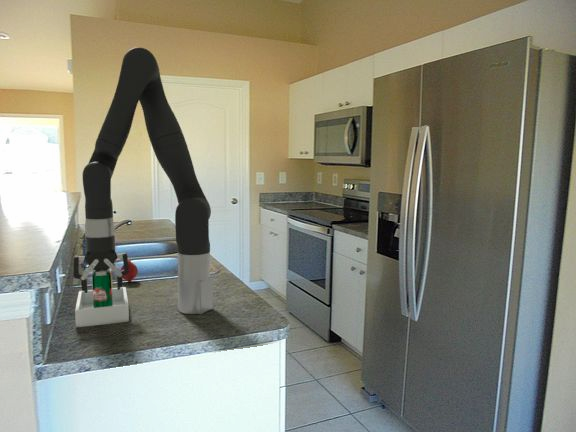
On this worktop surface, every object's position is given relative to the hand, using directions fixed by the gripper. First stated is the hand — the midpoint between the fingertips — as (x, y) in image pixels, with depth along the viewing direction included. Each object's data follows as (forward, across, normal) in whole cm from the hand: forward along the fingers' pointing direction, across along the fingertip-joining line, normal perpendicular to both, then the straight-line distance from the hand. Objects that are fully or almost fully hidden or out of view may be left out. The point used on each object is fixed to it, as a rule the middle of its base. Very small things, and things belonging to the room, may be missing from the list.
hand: (102, 290), depth 126 cm
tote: (+7, 0, 0) cm, 7 cm away
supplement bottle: (+7, 0, -20) cm, 21 cm away
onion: (+7, -8, -31) cm, 33 cm away
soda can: (+6, 0, 0) cm, 6 cm away
